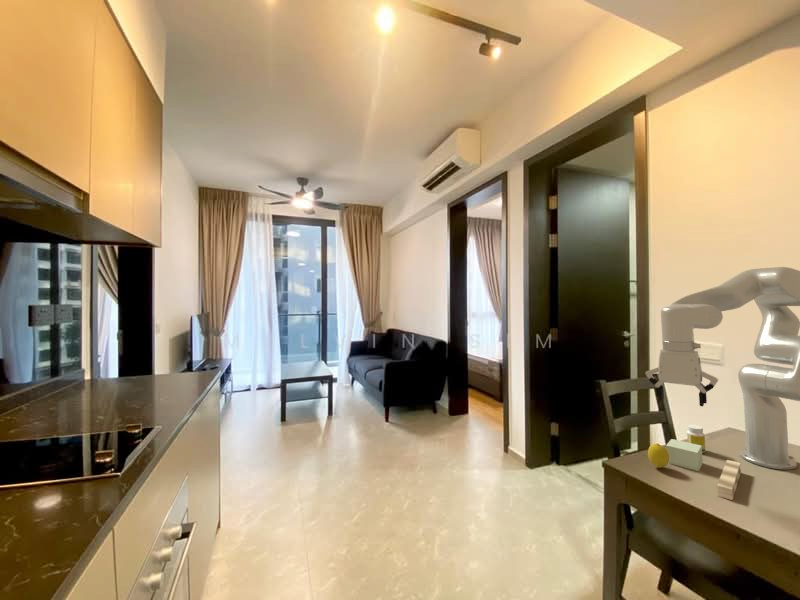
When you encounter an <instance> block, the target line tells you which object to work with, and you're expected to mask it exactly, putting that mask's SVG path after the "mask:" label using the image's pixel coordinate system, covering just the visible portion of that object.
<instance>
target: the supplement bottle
mask: <svg viewBox="0 0 800 600" xmlns="http://www.w3.org/2000/svg"><path fill="white" fill-rule="evenodd" d="M703 431H704V429H703V426H701V425H697V424H688V425H687V431H686V438H687V440H686V442H688V443H692V444H697V445H701V446H702V454H703V453H705V452H706V440H705V439H706V438H705V432H703Z"/></svg>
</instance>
